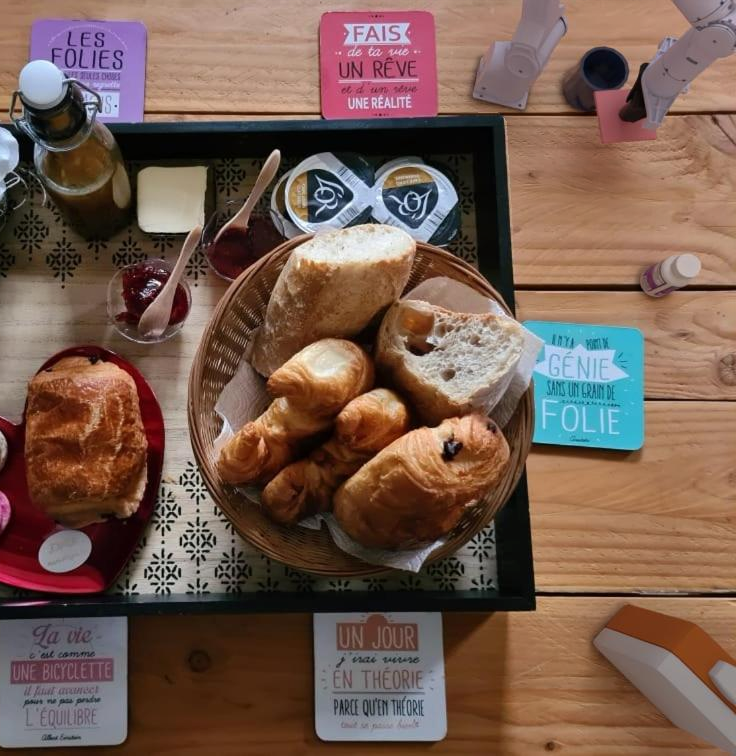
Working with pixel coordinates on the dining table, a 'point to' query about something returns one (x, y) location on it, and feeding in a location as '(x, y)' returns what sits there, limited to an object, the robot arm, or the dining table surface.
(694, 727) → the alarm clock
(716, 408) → the dining table surface
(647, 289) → the pill bottle
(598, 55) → the dark faceted cylinder
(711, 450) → the dining table surface
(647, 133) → the pink square knobbed lid
